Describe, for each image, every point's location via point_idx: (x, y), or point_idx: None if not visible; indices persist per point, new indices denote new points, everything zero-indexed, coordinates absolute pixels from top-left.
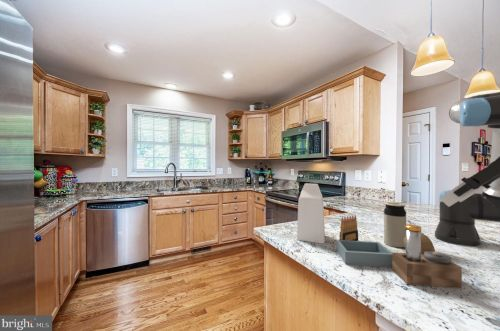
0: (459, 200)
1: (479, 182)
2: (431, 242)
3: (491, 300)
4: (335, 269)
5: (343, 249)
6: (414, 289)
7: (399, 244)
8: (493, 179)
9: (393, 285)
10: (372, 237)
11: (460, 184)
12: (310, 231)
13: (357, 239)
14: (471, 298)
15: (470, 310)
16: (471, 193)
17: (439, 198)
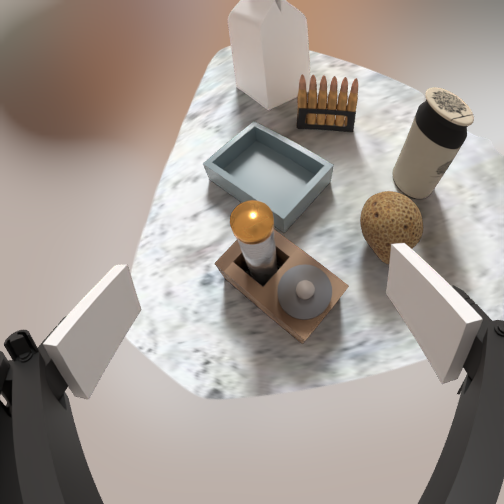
0: (388, 286)
1: (6, 406)
2: (407, 244)
3: (295, 386)
4: (174, 185)
5: (212, 155)
6: (215, 293)
7: (405, 188)
8: (438, 461)
9: (198, 266)
10: (402, 139)
11: (55, 332)
12: (250, 81)
13: (350, 128)
14: (271, 364)
15: (220, 371)
16: (414, 328)
17: (114, 267)
